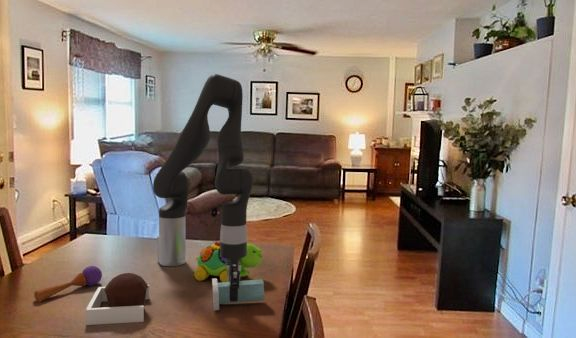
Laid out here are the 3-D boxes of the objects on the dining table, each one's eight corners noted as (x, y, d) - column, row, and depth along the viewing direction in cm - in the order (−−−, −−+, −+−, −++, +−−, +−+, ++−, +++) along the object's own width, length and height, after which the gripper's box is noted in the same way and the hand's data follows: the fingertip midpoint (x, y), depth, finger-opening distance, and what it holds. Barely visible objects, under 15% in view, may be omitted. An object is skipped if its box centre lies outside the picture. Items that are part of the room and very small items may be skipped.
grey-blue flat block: (260, 290, 141) (260, 274, 141) (266, 305, 131) (265, 288, 130) (212, 295, 139) (212, 278, 138) (214, 310, 128) (213, 292, 127)
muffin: (113, 302, 134) (112, 268, 133) (152, 302, 135) (152, 268, 133) (98, 320, 122) (97, 283, 121) (141, 320, 123) (140, 283, 122)
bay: (149, 297, 138) (149, 284, 137) (143, 321, 122) (143, 306, 122) (98, 300, 135) (98, 287, 135) (86, 325, 119) (85, 309, 119)
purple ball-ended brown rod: (29, 286, 135) (92, 263, 151) (34, 306, 135) (96, 281, 152) (40, 287, 131) (103, 263, 148) (45, 307, 132) (107, 281, 148)
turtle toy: (254, 288, 148) (255, 251, 146) (185, 281, 152) (185, 245, 151) (268, 271, 164) (269, 238, 163) (205, 265, 169) (205, 233, 167)
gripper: (249, 246, 126) (248, 307, 128) (244, 232, 140) (243, 288, 142) (221, 246, 125) (221, 309, 127) (218, 233, 138) (218, 290, 140)
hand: (233, 298), depth 134 cm, fingers closed on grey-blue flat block, 3 cm apart
